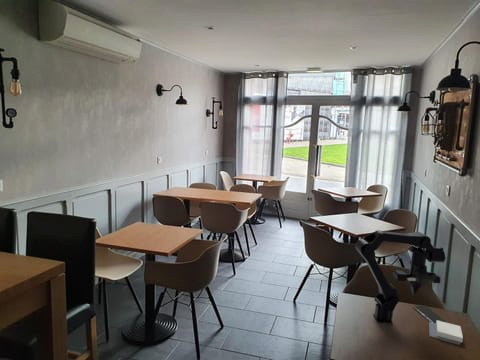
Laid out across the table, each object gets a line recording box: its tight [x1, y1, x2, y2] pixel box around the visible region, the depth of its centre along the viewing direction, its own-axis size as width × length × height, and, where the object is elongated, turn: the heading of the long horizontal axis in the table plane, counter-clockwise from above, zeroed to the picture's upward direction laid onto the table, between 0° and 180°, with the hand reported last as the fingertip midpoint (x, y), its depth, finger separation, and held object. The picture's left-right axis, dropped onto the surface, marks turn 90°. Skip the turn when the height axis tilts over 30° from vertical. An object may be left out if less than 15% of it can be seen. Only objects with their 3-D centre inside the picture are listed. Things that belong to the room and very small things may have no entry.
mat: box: [428, 321, 461, 346], centre depth 149 cm, size 11×12×1 cm
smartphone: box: [412, 304, 448, 323], centre depth 164 cm, size 7×1×16 cm
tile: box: [436, 320, 464, 343], centre depth 148 cm, size 2×10×9 cm
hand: (414, 294), depth 157 cm, fingers closed
